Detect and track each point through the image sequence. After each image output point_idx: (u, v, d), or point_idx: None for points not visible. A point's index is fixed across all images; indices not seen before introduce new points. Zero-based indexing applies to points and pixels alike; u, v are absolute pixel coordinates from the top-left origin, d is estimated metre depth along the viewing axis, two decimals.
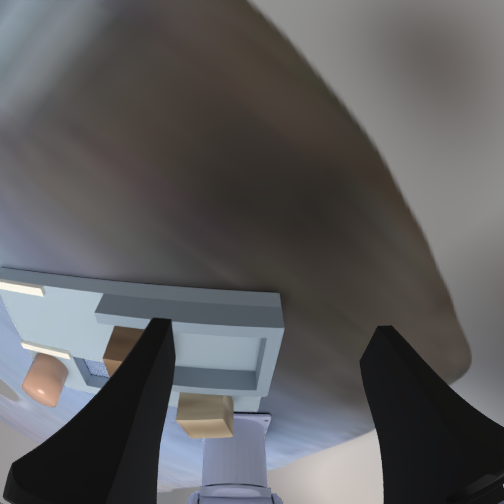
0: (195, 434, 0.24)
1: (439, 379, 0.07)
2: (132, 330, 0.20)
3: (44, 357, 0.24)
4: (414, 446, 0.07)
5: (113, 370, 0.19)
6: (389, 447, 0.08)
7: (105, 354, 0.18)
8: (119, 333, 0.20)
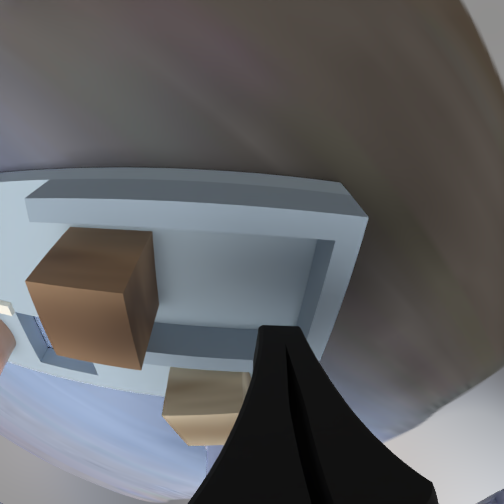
0: (194, 439, 0.15)
1: (333, 392, 0.07)
2: (87, 241, 0.11)
3: None
4: None
5: (45, 309, 0.09)
6: None
7: (31, 275, 0.09)
8: (65, 246, 0.11)
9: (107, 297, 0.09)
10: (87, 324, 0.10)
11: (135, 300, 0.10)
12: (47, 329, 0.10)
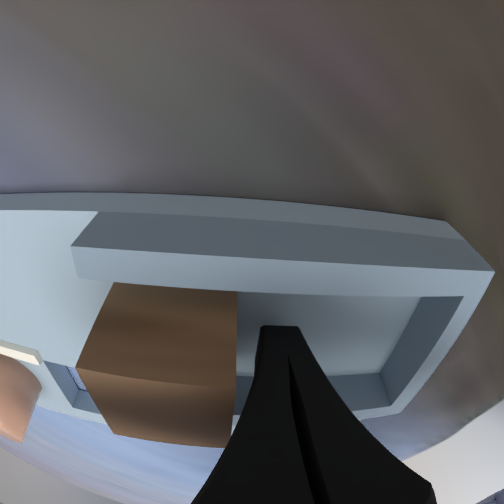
0: None
1: (332, 392, 0.07)
2: (152, 298, 0.09)
3: (0, 360, 0.12)
4: None
5: (105, 397, 0.07)
6: None
7: (83, 357, 0.07)
8: (120, 305, 0.08)
9: (211, 391, 0.07)
10: (169, 414, 0.07)
11: None
12: (105, 413, 0.08)
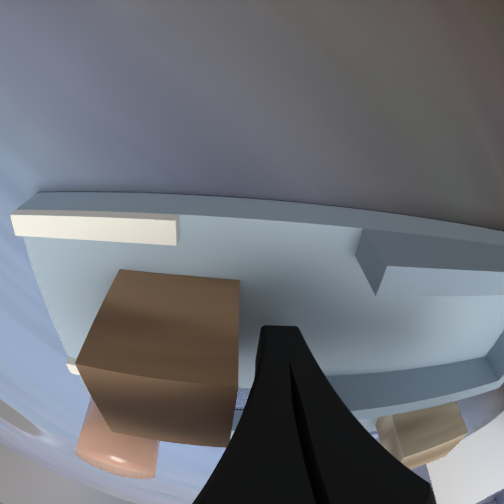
0: None
1: (331, 392, 0.07)
2: (154, 295, 0.09)
3: None
4: None
5: (105, 394, 0.07)
6: None
7: (83, 353, 0.07)
8: (121, 302, 0.08)
9: (212, 389, 0.07)
10: (169, 412, 0.07)
11: None
12: (104, 411, 0.08)
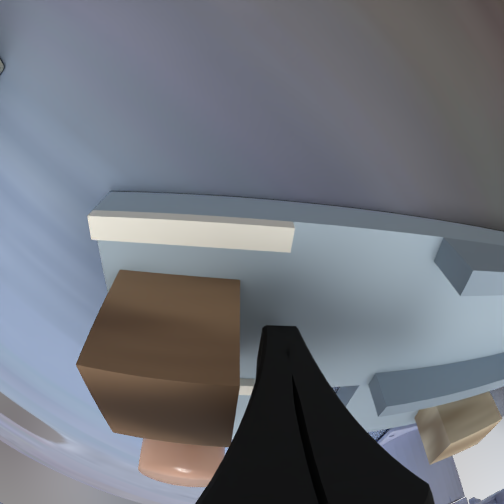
0: (443, 456, 0.13)
1: (330, 392, 0.07)
2: (154, 296, 0.09)
3: None
4: None
5: (106, 395, 0.07)
6: None
7: (84, 354, 0.07)
8: (122, 302, 0.08)
9: (214, 390, 0.07)
10: (171, 412, 0.07)
11: None
12: (105, 411, 0.08)
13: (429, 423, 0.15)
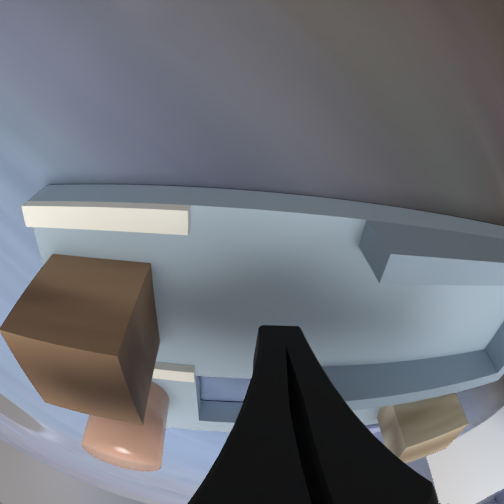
0: (405, 460, 0.13)
1: (333, 392, 0.07)
2: (72, 276, 0.09)
3: None
4: None
5: (26, 360, 0.07)
6: None
7: (7, 321, 0.07)
8: (46, 281, 0.08)
9: (98, 358, 0.07)
10: (76, 380, 0.07)
11: (133, 354, 0.08)
12: (31, 379, 0.08)
13: (388, 424, 0.15)
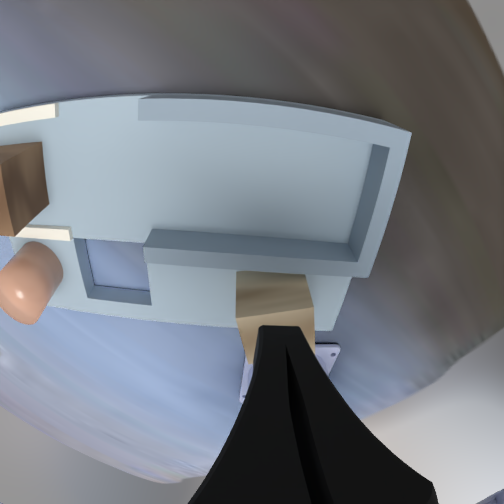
0: None
1: (333, 392, 0.07)
2: (1, 149, 0.13)
3: (32, 245, 0.17)
4: None
5: None
6: None
7: None
8: None
9: None
10: None
11: (14, 178, 0.12)
12: None
13: None
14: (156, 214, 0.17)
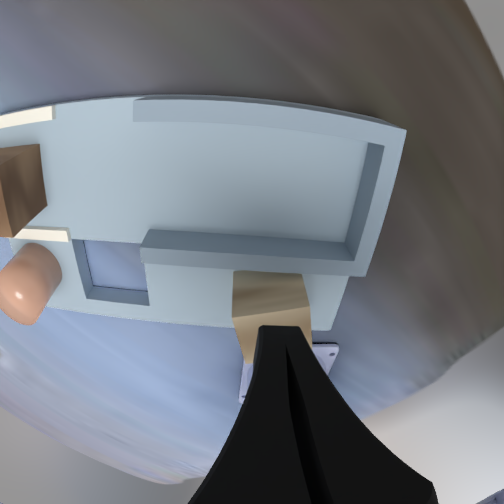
0: (254, 352, 0.17)
1: (333, 392, 0.07)
2: (0, 152, 0.13)
3: (30, 247, 0.17)
4: None
5: None
6: None
7: None
8: None
9: None
10: None
11: (12, 180, 0.12)
12: None
13: None
14: (153, 215, 0.17)
